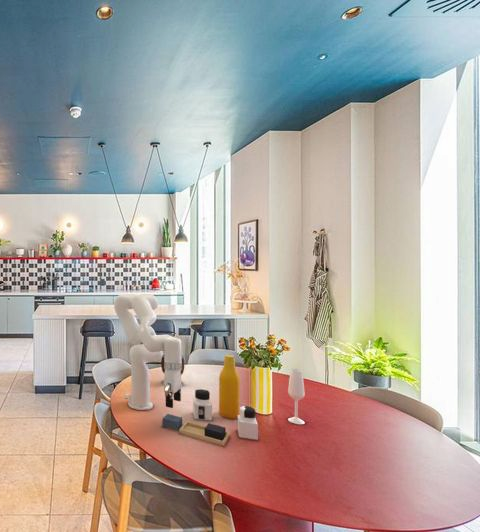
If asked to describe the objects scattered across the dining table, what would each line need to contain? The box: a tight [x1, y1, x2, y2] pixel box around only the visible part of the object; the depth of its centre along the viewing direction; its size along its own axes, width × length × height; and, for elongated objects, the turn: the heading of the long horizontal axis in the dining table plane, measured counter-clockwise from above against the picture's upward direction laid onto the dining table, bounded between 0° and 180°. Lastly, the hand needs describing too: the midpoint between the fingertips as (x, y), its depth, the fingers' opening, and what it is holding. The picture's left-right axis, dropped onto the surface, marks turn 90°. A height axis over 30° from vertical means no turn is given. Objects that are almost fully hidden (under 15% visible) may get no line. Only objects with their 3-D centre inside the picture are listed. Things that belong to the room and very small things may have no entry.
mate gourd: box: [160, 353, 185, 387], centre depth 212 cm, size 16×14×20 cm
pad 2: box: [205, 422, 227, 441], centre depth 145 cm, size 7×6×4 cm
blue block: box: [162, 413, 183, 431], centre depth 155 cm, size 7×6×4 cm
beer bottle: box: [218, 354, 241, 420], centre depth 168 cm, size 9×9×29 cm
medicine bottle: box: [236, 405, 259, 441], centre depth 147 cm, size 7×7×12 cm
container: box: [192, 388, 213, 421], centre depth 165 cm, size 8×8×13 cm
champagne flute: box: [287, 368, 306, 425], centre depth 162 cm, size 7×7×24 cm
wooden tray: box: [178, 420, 230, 447], centre depth 147 cm, size 18×10×2 cm, turn 54°
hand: (173, 403), depth 155 cm, fingers open, 9 cm apart
